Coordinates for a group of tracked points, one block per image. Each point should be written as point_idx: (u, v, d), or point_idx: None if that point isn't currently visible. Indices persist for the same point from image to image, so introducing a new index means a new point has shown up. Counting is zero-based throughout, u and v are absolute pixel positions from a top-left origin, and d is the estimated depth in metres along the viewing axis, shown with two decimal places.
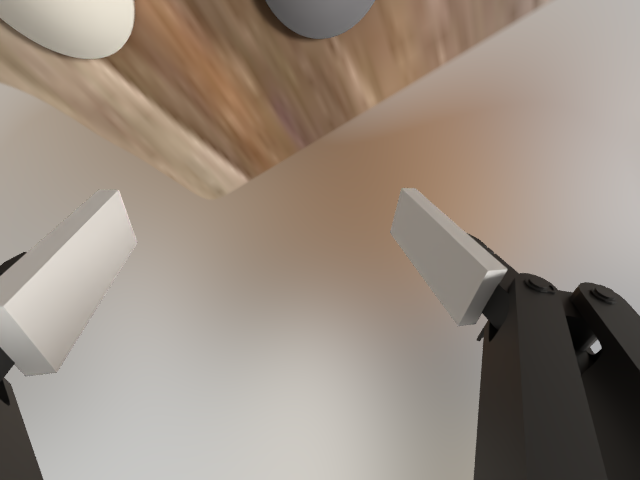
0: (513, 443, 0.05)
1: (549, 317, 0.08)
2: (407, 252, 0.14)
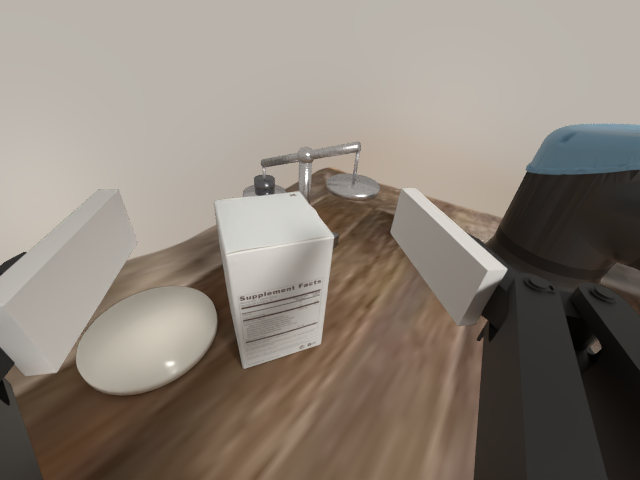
0: (512, 443, 0.05)
1: (549, 317, 0.07)
2: (407, 252, 0.14)
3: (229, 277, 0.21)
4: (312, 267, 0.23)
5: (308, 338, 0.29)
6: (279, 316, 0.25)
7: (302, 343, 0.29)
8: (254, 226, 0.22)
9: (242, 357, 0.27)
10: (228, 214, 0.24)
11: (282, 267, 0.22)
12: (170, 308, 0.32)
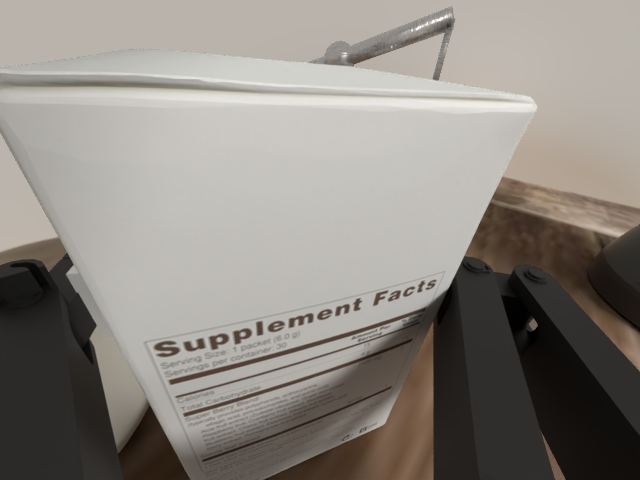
0: (464, 427, 0.05)
1: (486, 296, 0.08)
2: None
3: (73, 257, 0.04)
4: (429, 234, 0.07)
5: (365, 420, 0.12)
6: (303, 387, 0.08)
7: (349, 431, 0.12)
8: (222, 60, 0.06)
9: None
10: (138, 50, 0.07)
11: (334, 225, 0.05)
12: None
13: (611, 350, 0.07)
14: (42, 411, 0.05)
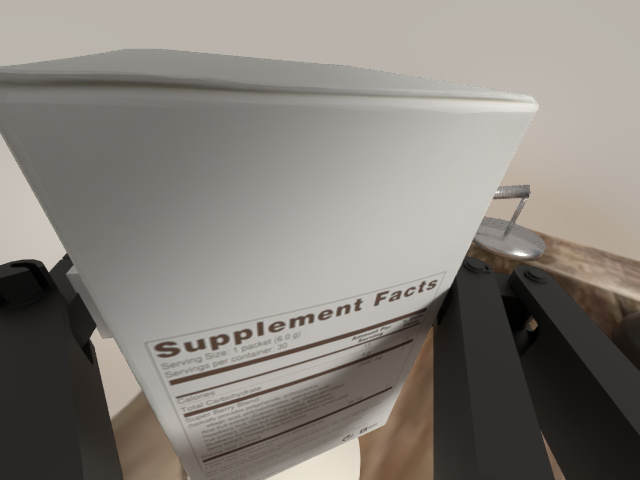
0: (464, 426, 0.05)
1: (487, 296, 0.08)
2: None
3: (73, 257, 0.04)
4: (430, 235, 0.07)
5: (366, 420, 0.12)
6: (304, 388, 0.08)
7: (350, 431, 0.12)
8: (223, 59, 0.06)
9: None
10: (138, 51, 0.07)
11: (335, 225, 0.05)
12: None
13: (611, 350, 0.07)
14: (42, 411, 0.05)
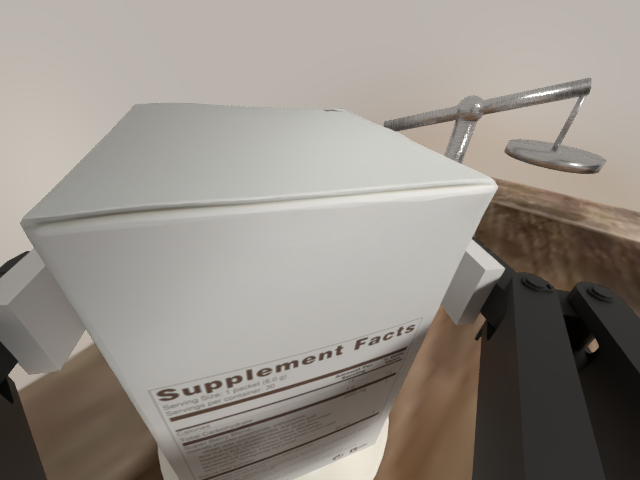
0: (511, 443, 0.05)
1: (546, 316, 0.08)
2: None
3: (91, 332, 0.05)
4: (404, 291, 0.07)
5: (355, 441, 0.13)
6: (292, 418, 0.09)
7: (340, 451, 0.13)
8: (218, 145, 0.06)
9: None
10: (147, 121, 0.08)
11: (313, 293, 0.06)
12: None
13: None
14: None
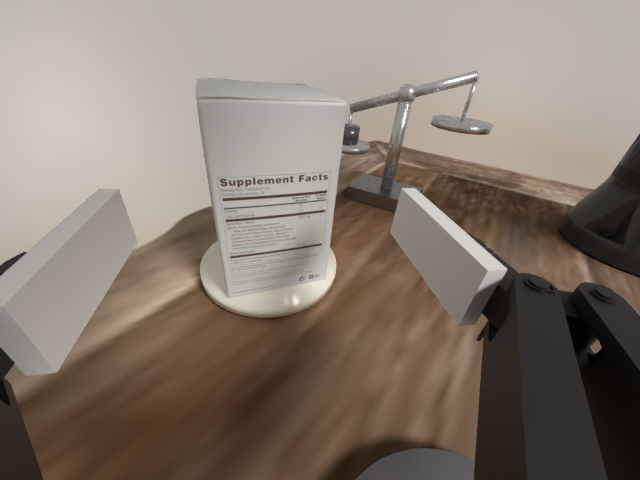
0: (513, 443, 0.05)
1: (549, 317, 0.07)
2: (407, 252, 0.14)
3: (204, 142, 0.16)
4: (316, 150, 0.18)
5: (310, 267, 0.24)
6: (273, 222, 0.20)
7: (302, 273, 0.24)
8: (243, 88, 0.17)
9: (226, 280, 0.21)
10: (210, 82, 0.18)
11: (277, 140, 0.17)
12: None
13: None
14: None
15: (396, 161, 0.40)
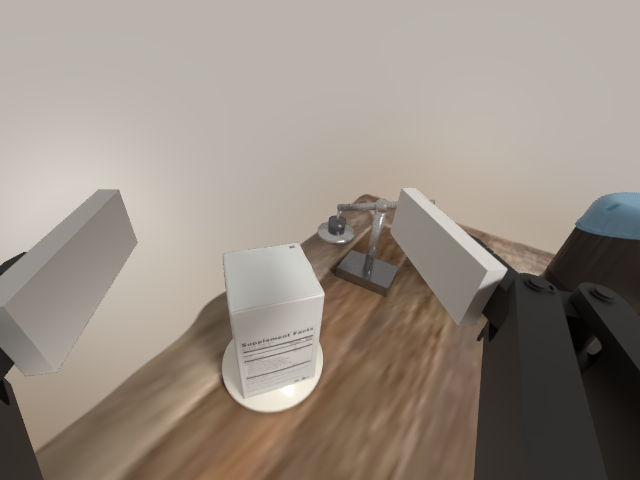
0: (513, 443, 0.05)
1: (549, 317, 0.07)
2: (407, 252, 0.14)
3: (233, 329, 0.25)
4: (305, 319, 0.27)
5: (303, 373, 0.33)
6: (276, 357, 0.29)
7: (297, 377, 0.33)
8: (256, 283, 0.26)
9: (243, 390, 0.30)
10: (234, 269, 0.28)
11: (279, 320, 0.26)
12: None
13: None
14: None
15: (375, 251, 0.49)
